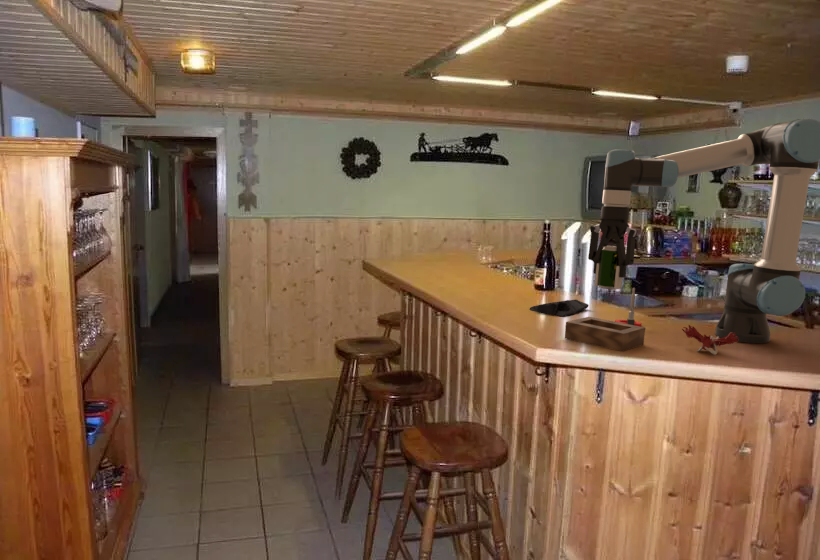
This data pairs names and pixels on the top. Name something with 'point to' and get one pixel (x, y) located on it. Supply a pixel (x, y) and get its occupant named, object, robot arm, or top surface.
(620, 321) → the grey and red post
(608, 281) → the beer can
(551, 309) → the dark slate chunk
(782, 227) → the robot arm
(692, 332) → the figurine
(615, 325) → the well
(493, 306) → the top surface
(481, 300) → the top surface
